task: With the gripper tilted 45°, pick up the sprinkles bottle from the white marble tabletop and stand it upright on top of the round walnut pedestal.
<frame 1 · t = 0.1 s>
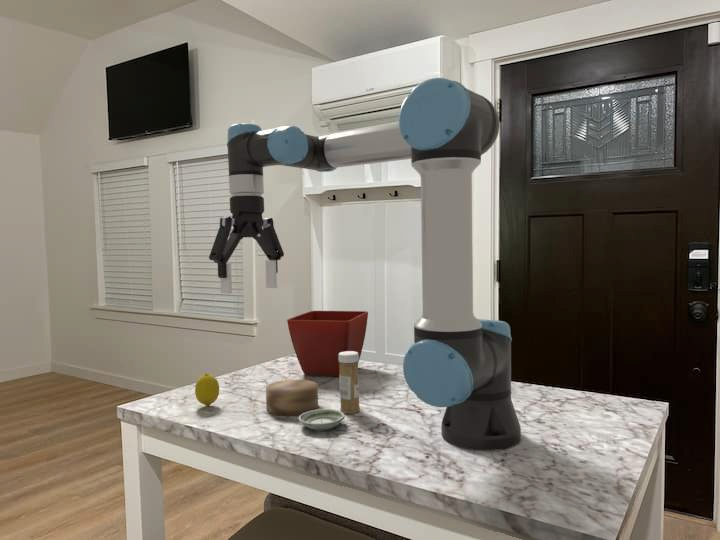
hand: (250, 290, 120), 28 cm above the table, tool pointing down, fingers open, 13 cm apart
saucer: (322, 427, 112), on the table
walnut pedestal: (292, 407, 124), on the table
plant pot: (330, 371, 159), on the table
lemon: (207, 407, 127), on the table
sprinkles bottle: (349, 411, 121), on the table
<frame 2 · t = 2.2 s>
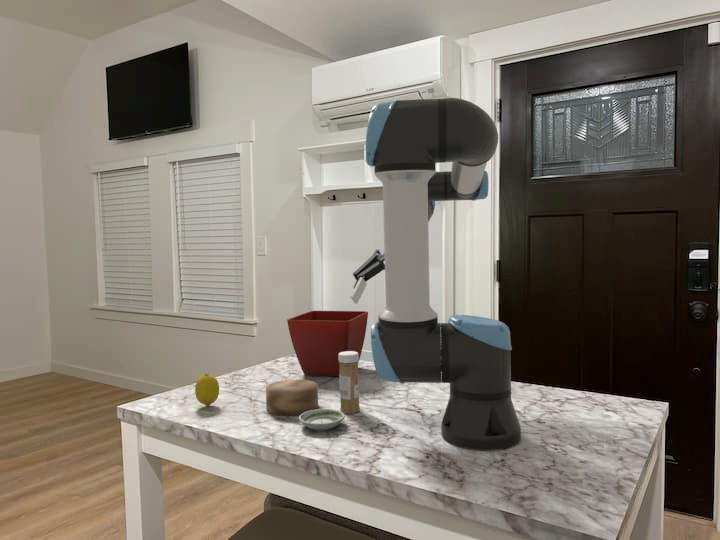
hand: (376, 301, 130), 24 cm above the table, tool tilted 45°, fingers open, 13 cm apart
nothing on the table moved.
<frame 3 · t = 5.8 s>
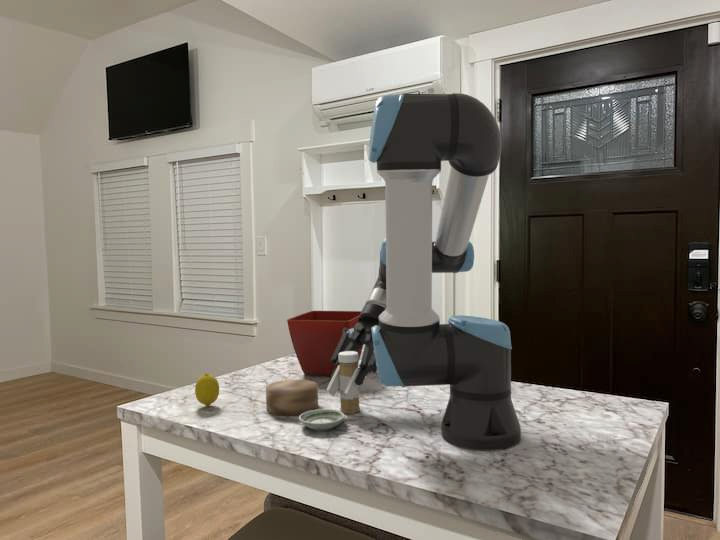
hand: (339, 394, 118), 5 cm above the table, tool tilted 45°, fingers closed on sprinkles bottle, 4 cm apart
sprinkles bottle: (349, 411, 121), on the table, touching gripper
everything else where it was.
when the fingers open (11 cm above the table, at t = 11.8 s): sprinkles bottle drops 1 cm, resting on walnut pedestal.
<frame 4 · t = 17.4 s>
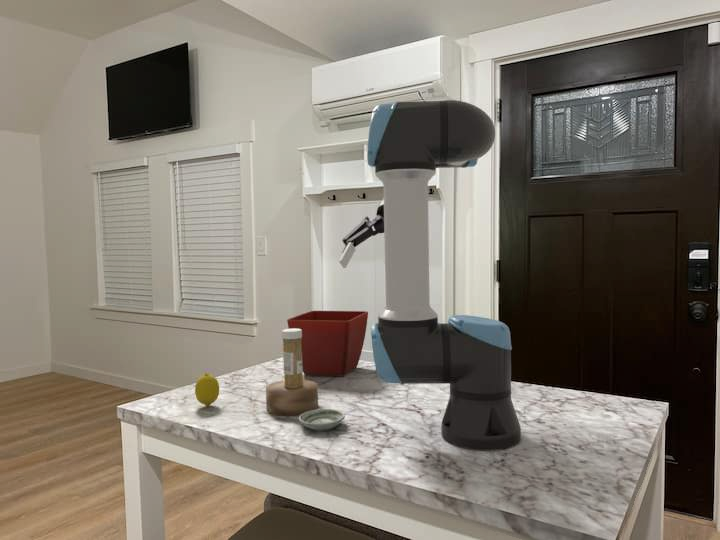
hand: (364, 264, 132), 33 cm above the table, tool tilted 45°, fingers open, 13 cm apart
sprinkles bottle: (293, 387, 124), point 5 cm above the table, touching walnut pedestal
everything else where it was.
at the end: sprinkles bottle inside the target area on the walnut pedestal (0.5 cm from its centre), point 4.8 cm above the walnut pedestal's base; sprinkles bottle tilted 0°; the gripper is holding nothing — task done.
